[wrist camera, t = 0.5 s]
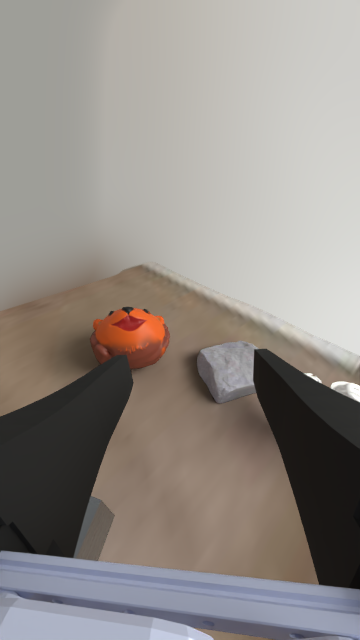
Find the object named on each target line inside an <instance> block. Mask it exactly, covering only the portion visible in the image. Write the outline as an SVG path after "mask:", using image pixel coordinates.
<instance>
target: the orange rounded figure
mask: <svg viewBox="0 0 360 640" xmlns="http://www.w3.org/2000/svg"><path fill="white" fill-rule="evenodd" d="M93 328H94V329H95V331H94V332H93V333H92V336H91V338H90V342H91V346H92V349H93V352H94V354H95V356H96V359H97V360H98V362H99V363H100V364H103V363H104V362H106V361H107V360H109V359H111V358H112V357H114V356H116V355H127V358H128V362H129V366H130V369H136V368H142V367H146V366H149V365H152V364H155V363H156V362H157V361H158V360H159V359H160V358H161V357H162V355H163V354H164V353H165V351H166V348H167V346H168V344H169V338H170V334H169V331H168V327H167V326H166V325H165V324H164V320H163V317H162V316H153V315H152V314H151V313H150V312H149V311H147V310H146V309H144V310H141V309H136V308H132V307H123V308H122V309H119V310H117V311H111V312H110V313H109V315H108V316H107V317H106V318H105V319H104V320H100V319H96V320H94V322H93Z"/></svg>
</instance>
